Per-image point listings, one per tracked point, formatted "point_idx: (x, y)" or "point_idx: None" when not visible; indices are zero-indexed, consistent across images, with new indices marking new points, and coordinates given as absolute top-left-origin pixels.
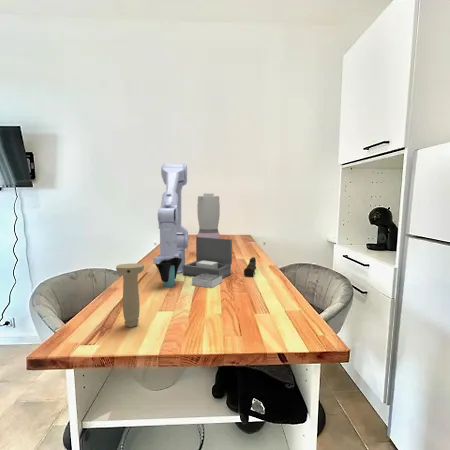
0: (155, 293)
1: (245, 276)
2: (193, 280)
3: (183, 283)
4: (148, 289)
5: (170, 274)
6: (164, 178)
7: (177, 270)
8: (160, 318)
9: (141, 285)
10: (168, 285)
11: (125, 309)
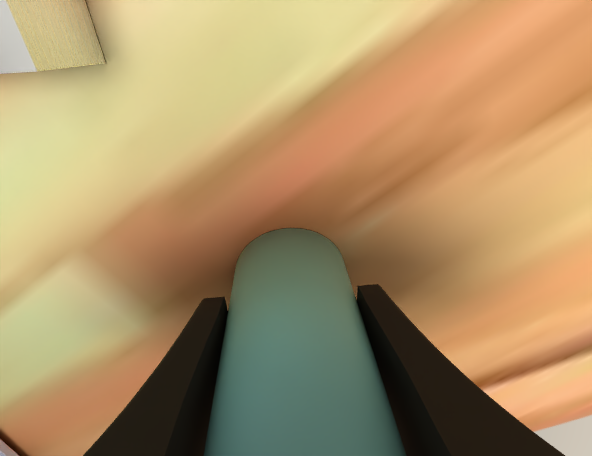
0: (553, 221)
1: None
2: (51, 34)
3: (143, 205)
4: (456, 322)
5: (354, 345)
6: None
7: (147, 384)
8: None
9: None
10: (339, 258)
11: None
